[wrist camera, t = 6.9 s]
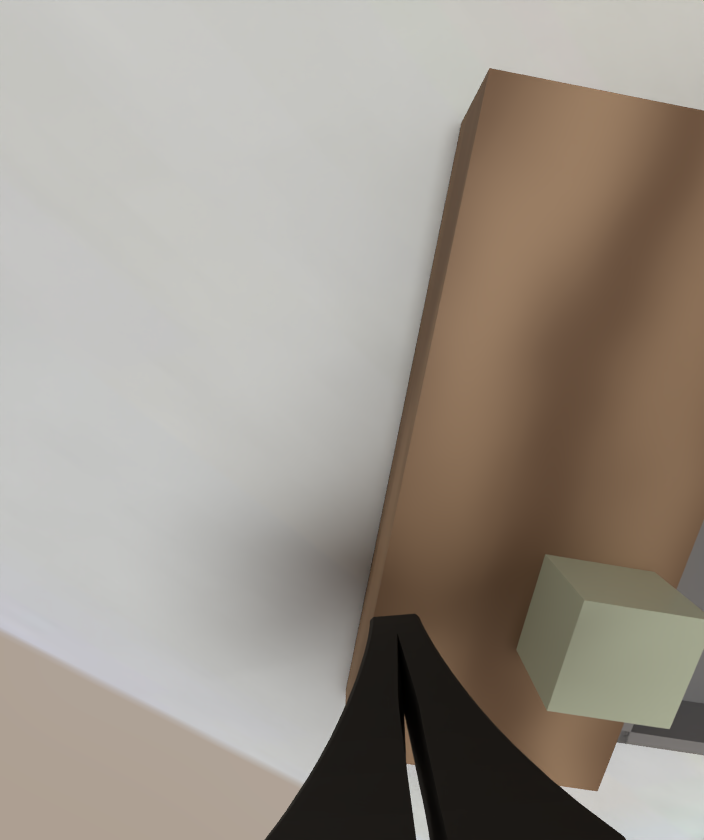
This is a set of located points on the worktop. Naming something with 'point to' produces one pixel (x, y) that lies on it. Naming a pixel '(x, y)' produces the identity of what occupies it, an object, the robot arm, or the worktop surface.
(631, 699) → the tile sage
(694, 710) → the tray
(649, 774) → the worktop surface
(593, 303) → the board
